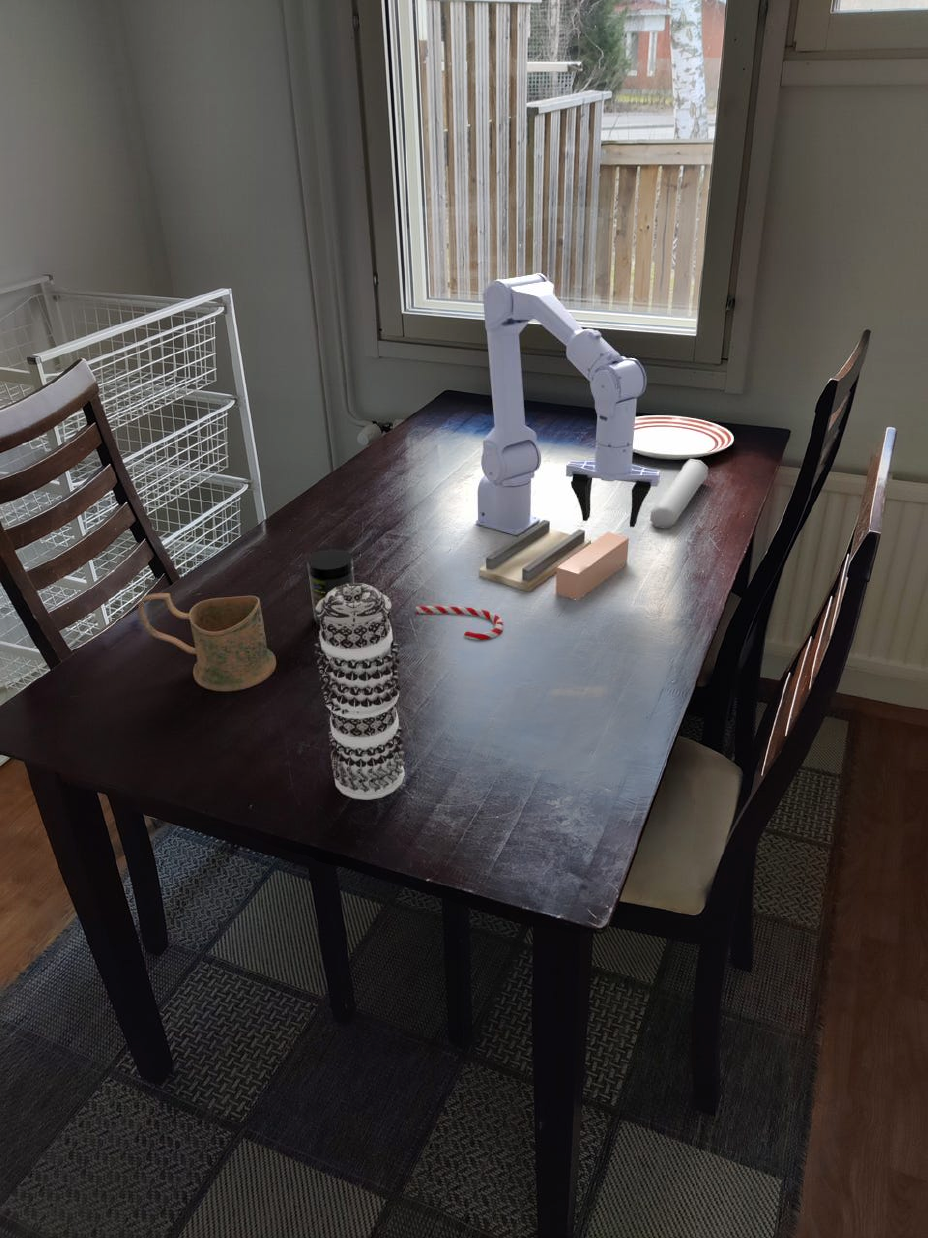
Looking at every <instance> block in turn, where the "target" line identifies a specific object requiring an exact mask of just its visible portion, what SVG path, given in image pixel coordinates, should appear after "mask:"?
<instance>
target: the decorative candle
mask: <svg viewBox="0 0 928 1238" xmlns="http://www.w3.org/2000/svg"><path fill="white" fill-rule="evenodd" d="M392 605H393V604H392V602H391V599H390V598H389V597H388V596H387V595H385V594H384V593H383V592H380V590H378V589H377V588H375V587H374V586H372V585H369V584H367V583H360V582H359V583H358V582H354V583H351V584H344V585H341V586H338V587H335V588H334V589H332V590H331V591H329V592H328V594H327V595H326V597H325V598H323V599H322V600H320V601H319V603H318V604H317V606H316V608H315V609H316V615H317V616H318V617H319V620H320V625H319V626H320V630H319V631H318V633H319V636H318V639H319V640H317V641H316V642H314V646H315V647H316V649H315V651H314V655H315V656H316V657H317V659H316V663H317V664H318V671H319V673H320V677H319V681H320V683H322V684H321V686H320V687H321V690H322V691H323V692H322V695H323V696H322V697H323V698H324V704H325V706H326V707H327V708H328V709H329V710H330V717H329V724H330V730H329V731H328V734H327V735H328V737H329V747H330V749H331V750H330V759H331V767H332V768H331V769H332V771H333V778H334V783H335V787H336V788H337V789H338V791H340V793H341V794H343V795H345V796H347V797H349V798H352V799H354V800H366V801H368V800H374V799H381V798H383V797H386V796H388V795H390V794H392V793H394V792H395V791H396V790H397V789H398V788H399V787H400V786H401V785H402V784H403V782H404V778H405V775H406V773H405V772H406V771H405V769H404V766H405V765H406V763H405V761H403V757H404V755H405V752H404V751H403V750H402V748H403V743H404V739H403V738H402V733H403V728H402V727H401V721H400V720H399V715H398V711H397V701H398V699H399V696H400V691H399V690H401V686H400V684H399V678H400V672H399V671H398V667H399V664H400V663H401V660H400V658H399V657H398V654H399V650H400V646H399V644H397V642H396V640H395V639H394V638H393V630H392V629H393V628H392V626H391V623H390V613H389V612H390V610H391V608H392V607H393V606H392ZM323 652H324V653H323Z"/></svg>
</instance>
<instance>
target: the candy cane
mask: <svg viewBox="0 0 928 1238" xmlns="http://www.w3.org/2000/svg"><path fill="white" fill-rule="evenodd" d="M414 611H415V612H414V613H416V614H445V615H446V614H449V615H450V614H451V615H467V616H474V617H479V618H484V619H487V620H489V621H491V623H493V624H494V628H493V629H491V630H489V631H486V632H481V633H479V632H471V631H465V632H464V634H463V637H464V638H465V639H468V640H469V639H470V640H474V641H485V640H491V639H493V638H496V637H498V636H500V635H501V634H502V632H503V630H504V623H503V620H502V619H501V618H500V616H498V615H496V614H495V613H494V612H491V611H488V610H485V609H480V608H475V607H467V606H466V607H465V606H451V605H450V606H448V605H447V606H445V605H444V606H443V605H442V606H441V605H435V606H434V605H424V606H423V605H421V606H416V607H415V610H414Z"/></svg>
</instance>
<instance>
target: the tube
mask: <svg viewBox="0 0 928 1238" xmlns="http://www.w3.org/2000/svg"><path fill="white" fill-rule="evenodd" d="M708 472H709V467H708V466H707V465H706V464H705V463H704V462H703V461H702V460H701V459H700V460H699V459H695V458H692V459H687V461H686V462H685V463H684V464H683V465H682V468H681V470H680V471H679V473H678V474H677V475H676V477H675V478H674V479H673V480H672V482H671V483H670V484H669V486H668V487H667V489H666V490H665V491H664V493H663V494H662V495H661V496H660V498H659V499H658V501H657V502H656V503H655V505H654V506H653V507H652V508H651V510H650V516H649V517H650V518H649V520H650V521H651V523H652V524H653V525H654V526H655V528H662V529H670V528H671V527H673V525H674V524H675V523H676V522H677V521H678V519H679V517H680V516H681V514H682V513H683V512H684V510H685V509H686V507H687V506H688V504H689V502H690V501H691V500H692V498H693V497H694V495H695V494H696V493H697V491H698V489H699V488H700V487H701V485H702V483H703V482H704V481H706V479H707V478H708Z"/></svg>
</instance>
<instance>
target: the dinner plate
mask: <svg viewBox="0 0 928 1238" xmlns="http://www.w3.org/2000/svg"><path fill="white" fill-rule="evenodd" d="M734 440H735V439H734V435H733V433H732V432H731V431H730V430H728V429H727V428H726V427H723V426H721V425H719V424H717V423H714V422H710V421H707V420H703V419H698V418H693V417H687V416H681V415H680V416H679V415H661V414H660V415H659V414H658V415H657V414H656V415H655V414H654V415H642V416H635V428H634V441H633V453H636V454H639V455H641V456H645V457H647V458H653V459H659V460H668V461H669V460H670V461H673V460H674V461H675V460H677V461H679V460H689V459H695V458H696V459H697V458H700V457H704V456H710V455H712V454H715V453H719V452H721V451H724V450H725V449H727V448H729V447H730V446H731V445H733V443H734Z"/></svg>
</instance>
